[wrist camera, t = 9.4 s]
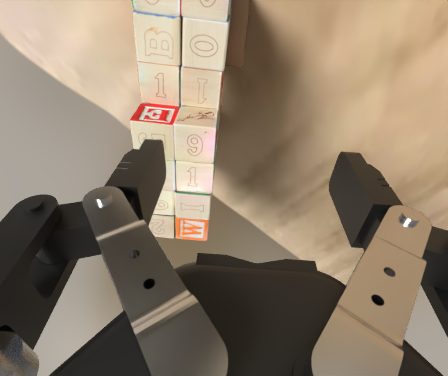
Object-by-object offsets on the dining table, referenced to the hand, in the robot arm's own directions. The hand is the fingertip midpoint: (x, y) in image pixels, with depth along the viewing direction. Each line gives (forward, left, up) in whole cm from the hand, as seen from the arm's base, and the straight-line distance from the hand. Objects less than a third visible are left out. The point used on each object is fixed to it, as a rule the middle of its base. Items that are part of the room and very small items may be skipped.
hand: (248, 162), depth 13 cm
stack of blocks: (+5, +3, -19) cm, 20 cm away
